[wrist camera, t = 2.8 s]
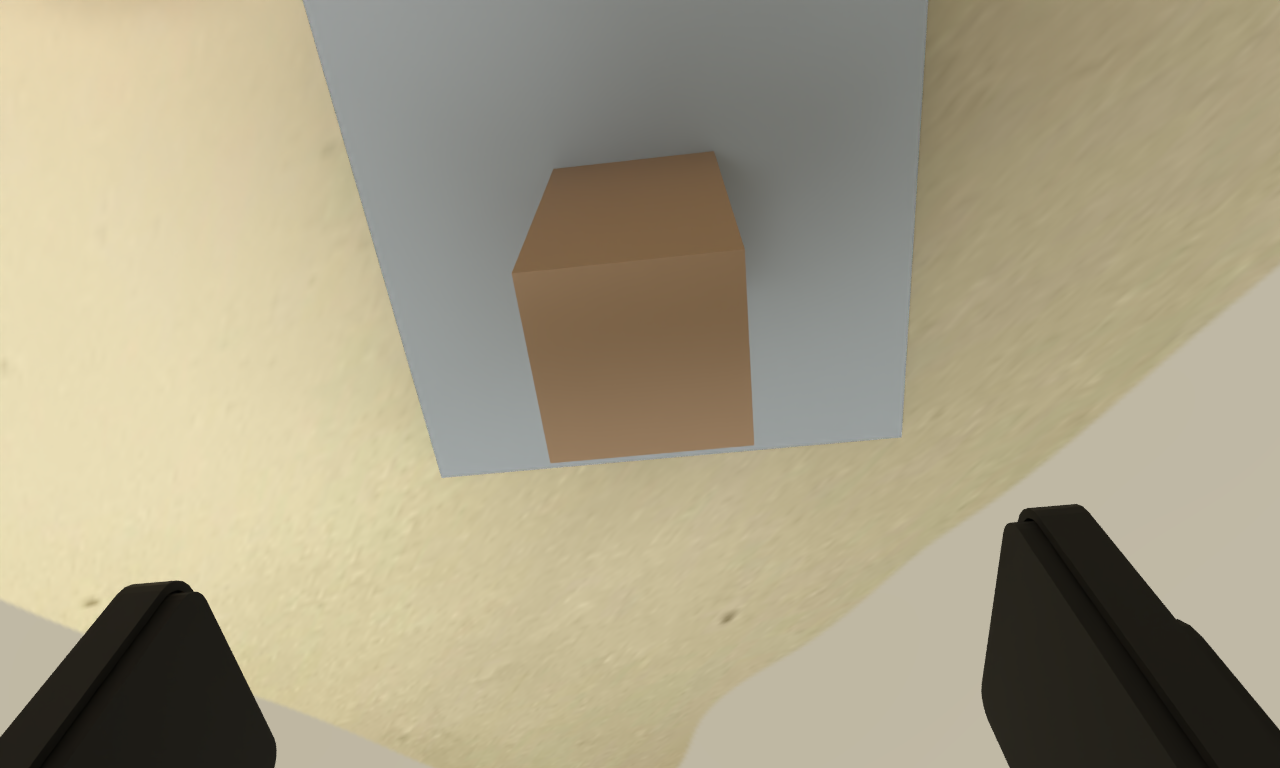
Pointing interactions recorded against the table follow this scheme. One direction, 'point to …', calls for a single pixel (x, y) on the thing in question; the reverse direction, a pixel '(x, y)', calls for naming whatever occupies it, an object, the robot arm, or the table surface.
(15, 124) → the table surface
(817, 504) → the table surface
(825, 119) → the cover
